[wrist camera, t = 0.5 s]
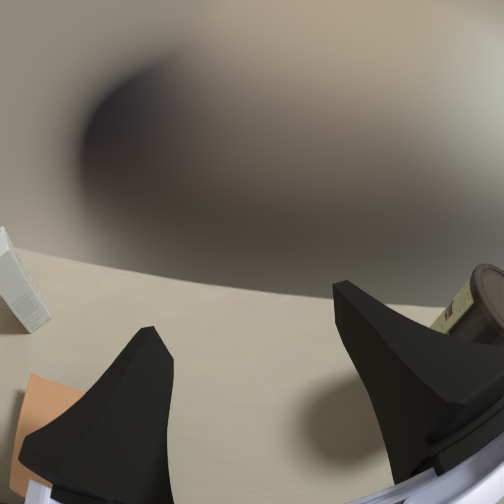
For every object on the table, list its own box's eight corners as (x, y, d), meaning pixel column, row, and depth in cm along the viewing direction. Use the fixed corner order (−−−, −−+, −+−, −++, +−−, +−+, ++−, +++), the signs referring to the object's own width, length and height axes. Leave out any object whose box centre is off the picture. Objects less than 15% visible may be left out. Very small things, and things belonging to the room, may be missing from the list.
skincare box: (18, 307, 27) (-22, 241, 19) (38, 291, 30) (3, 224, 22) (30, 336, 24) (-19, 268, 16) (53, 318, 27) (10, 247, 19)
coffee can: (467, 401, 23) (544, 340, 13) (409, 403, 24) (494, 337, 14) (456, 338, 30) (514, 271, 21) (403, 332, 31) (462, 253, 22)
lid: (146, 543, 10) (123, 559, 6) (17, 489, 9) (-23, 479, 5) (156, 411, 19) (137, 389, 15) (38, 379, 18) (6, 350, 14)
